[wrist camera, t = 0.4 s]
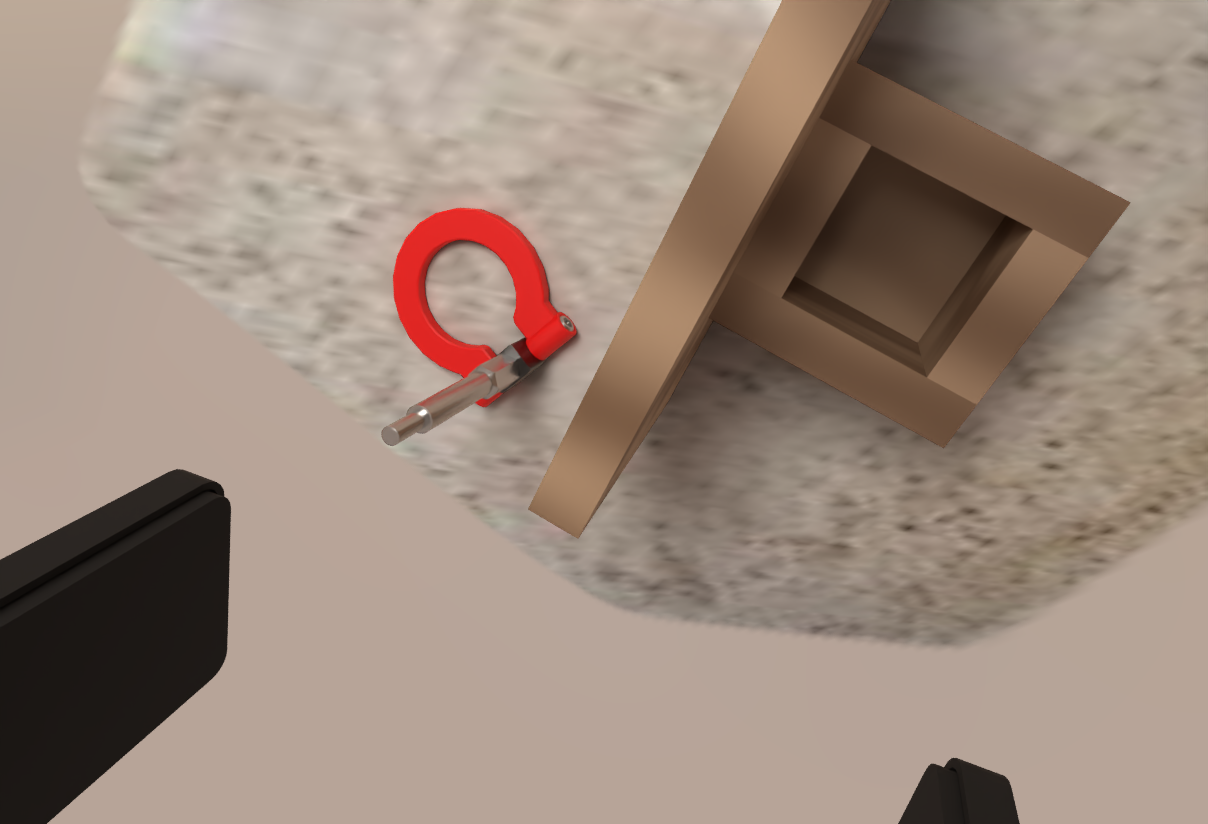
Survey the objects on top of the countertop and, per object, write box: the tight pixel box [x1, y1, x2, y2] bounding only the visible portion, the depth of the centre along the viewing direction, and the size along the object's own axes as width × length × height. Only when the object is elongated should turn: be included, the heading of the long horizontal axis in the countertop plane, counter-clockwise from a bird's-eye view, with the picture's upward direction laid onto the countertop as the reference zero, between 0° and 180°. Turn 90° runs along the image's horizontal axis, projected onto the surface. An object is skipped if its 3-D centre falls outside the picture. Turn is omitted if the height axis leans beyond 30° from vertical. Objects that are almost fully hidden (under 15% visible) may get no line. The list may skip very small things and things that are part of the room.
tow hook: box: [381, 208, 577, 446], centre depth 36 cm, size 8×13×9 cm
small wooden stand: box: [528, 0, 1130, 539], centre depth 28 cm, size 24×12×14 cm, turn 154°
